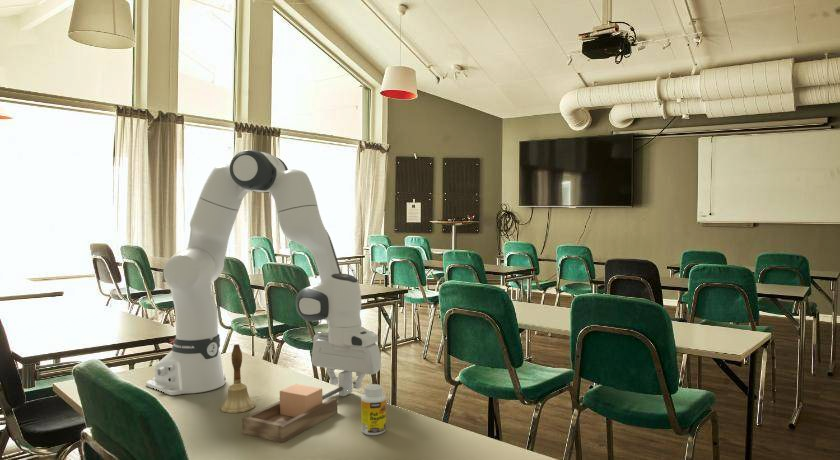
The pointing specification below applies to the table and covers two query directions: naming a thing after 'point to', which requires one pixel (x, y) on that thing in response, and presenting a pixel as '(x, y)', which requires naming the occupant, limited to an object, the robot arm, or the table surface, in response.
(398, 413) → the table surface
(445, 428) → the table surface
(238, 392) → the hand bell
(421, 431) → the table surface
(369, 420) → the supplement bottle
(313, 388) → the pull block
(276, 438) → the shelf lane
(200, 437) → the table surface
